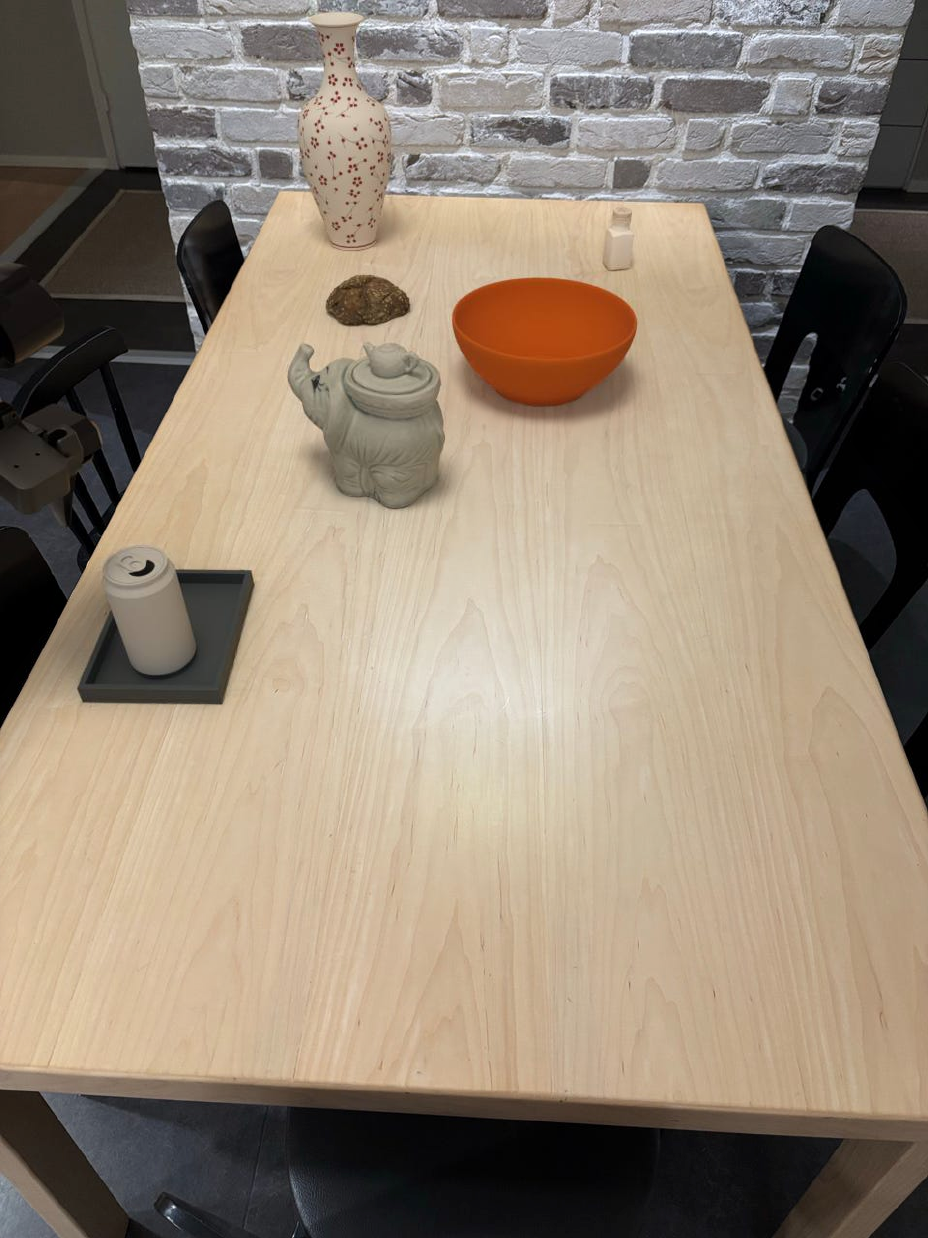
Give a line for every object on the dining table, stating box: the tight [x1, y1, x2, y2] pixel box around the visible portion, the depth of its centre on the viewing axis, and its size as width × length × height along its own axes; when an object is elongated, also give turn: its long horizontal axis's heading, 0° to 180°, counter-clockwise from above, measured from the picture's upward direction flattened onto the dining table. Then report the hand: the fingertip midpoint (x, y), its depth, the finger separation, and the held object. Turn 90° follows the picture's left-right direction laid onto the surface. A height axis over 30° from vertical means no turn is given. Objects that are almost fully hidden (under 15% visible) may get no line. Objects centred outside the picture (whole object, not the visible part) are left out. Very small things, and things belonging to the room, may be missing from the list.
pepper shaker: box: [602, 206, 635, 271], centre depth 157 cm, size 4×4×10 cm
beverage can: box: [101, 544, 196, 675], centre depth 86 cm, size 6×6×12 cm
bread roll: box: [325, 274, 411, 326], centre depth 146 cm, size 13×12×5 cm
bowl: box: [451, 276, 638, 408], centre depth 127 cm, size 25×25×10 cm
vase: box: [297, 11, 392, 251], centre depth 156 cm, size 16×16×35 cm
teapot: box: [287, 341, 446, 509], centre depth 106 cm, size 16×15×19 cm
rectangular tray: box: [76, 568, 255, 705], centre depth 92 cm, size 17×13×2 cm
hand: (24, 551), depth 82 cm, fingers open, 9 cm apart
